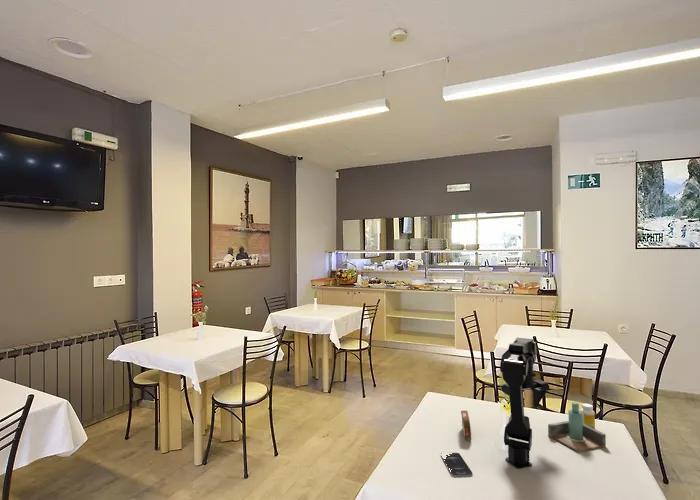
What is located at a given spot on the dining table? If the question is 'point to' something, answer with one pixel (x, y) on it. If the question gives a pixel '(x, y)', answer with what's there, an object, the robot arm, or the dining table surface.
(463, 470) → the smartphone
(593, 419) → the supplement bottle
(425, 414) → the dining table surface
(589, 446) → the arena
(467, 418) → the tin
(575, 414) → the teal bottle
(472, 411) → the dining table surface
